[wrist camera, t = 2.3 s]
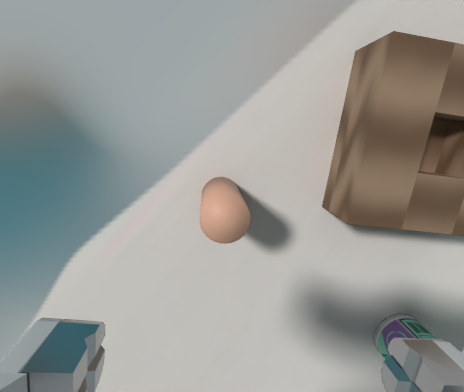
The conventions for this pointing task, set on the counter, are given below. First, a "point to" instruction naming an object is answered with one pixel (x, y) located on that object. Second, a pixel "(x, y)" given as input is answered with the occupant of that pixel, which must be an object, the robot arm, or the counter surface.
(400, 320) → the spray can
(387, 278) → the counter surface
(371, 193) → the bore block
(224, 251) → the counter surface
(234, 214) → the pin
